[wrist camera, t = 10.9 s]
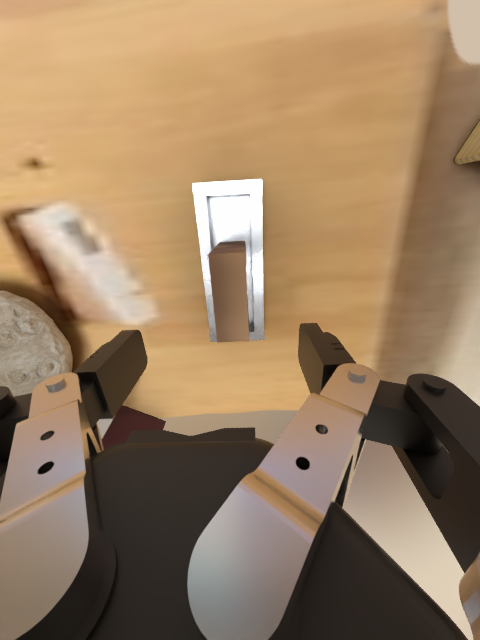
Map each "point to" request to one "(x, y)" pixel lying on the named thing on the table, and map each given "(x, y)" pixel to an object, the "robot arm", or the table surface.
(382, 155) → the table surface
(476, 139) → the toy sofa
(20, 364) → the decorative shell
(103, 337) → the table surface
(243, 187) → the tray
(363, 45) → the table surface
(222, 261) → the door panel
